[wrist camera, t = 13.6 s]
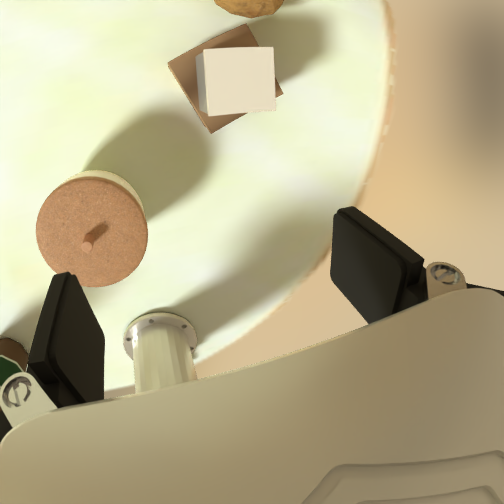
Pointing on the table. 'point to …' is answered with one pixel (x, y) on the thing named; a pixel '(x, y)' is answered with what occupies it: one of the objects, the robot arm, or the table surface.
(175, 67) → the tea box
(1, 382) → the beer bottle
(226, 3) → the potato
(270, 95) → the beige cube
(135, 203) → the lidded bowl
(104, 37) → the table surface
